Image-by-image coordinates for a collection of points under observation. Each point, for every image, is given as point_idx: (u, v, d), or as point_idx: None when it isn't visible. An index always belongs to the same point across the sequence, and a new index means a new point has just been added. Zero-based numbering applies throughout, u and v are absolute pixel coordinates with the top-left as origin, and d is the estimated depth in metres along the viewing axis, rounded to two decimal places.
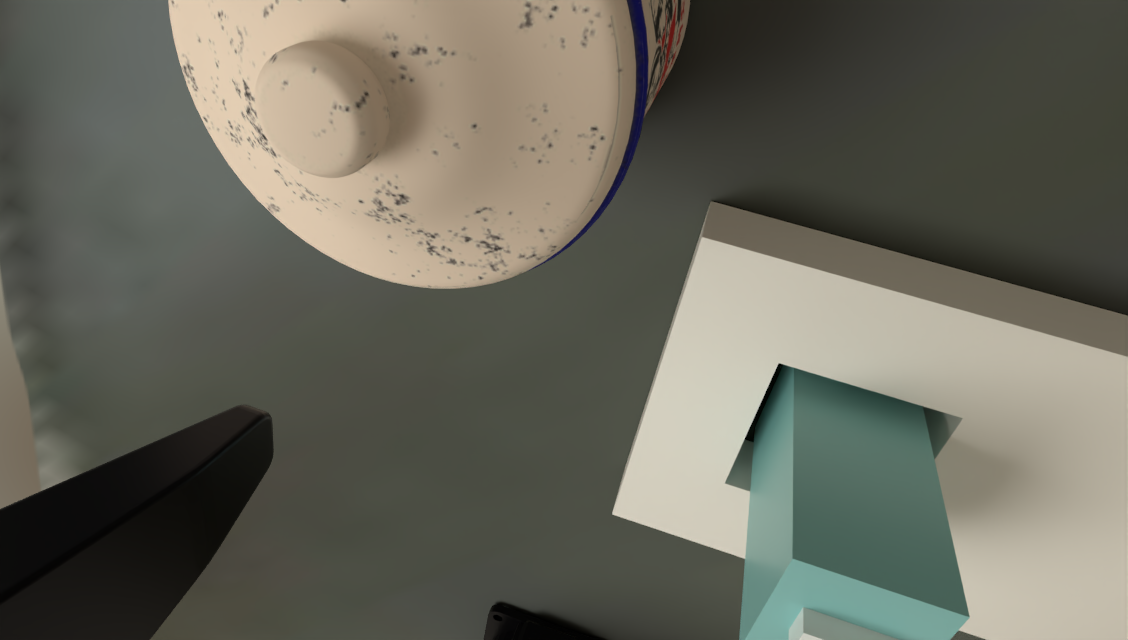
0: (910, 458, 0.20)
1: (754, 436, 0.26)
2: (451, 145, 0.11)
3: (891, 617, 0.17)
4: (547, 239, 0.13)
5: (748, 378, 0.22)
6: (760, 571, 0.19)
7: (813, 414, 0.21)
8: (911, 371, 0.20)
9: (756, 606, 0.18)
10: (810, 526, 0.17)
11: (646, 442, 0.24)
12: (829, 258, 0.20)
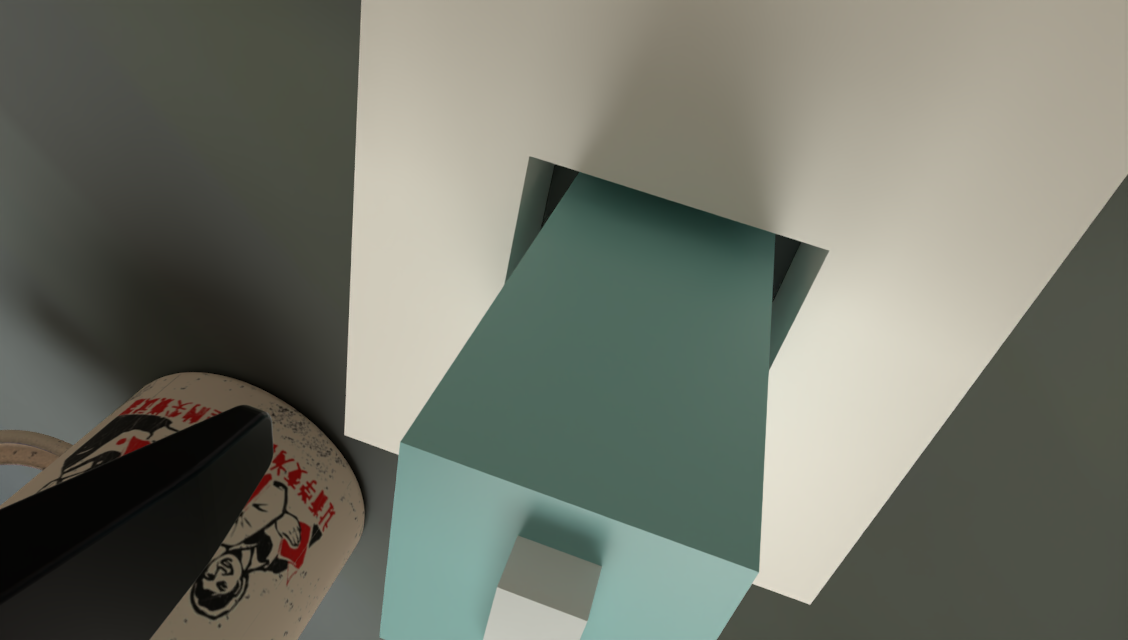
0: None
1: None
2: None
3: (457, 545, 0.08)
4: None
5: None
6: None
7: None
8: (461, 232, 0.14)
9: None
10: None
11: None
12: None
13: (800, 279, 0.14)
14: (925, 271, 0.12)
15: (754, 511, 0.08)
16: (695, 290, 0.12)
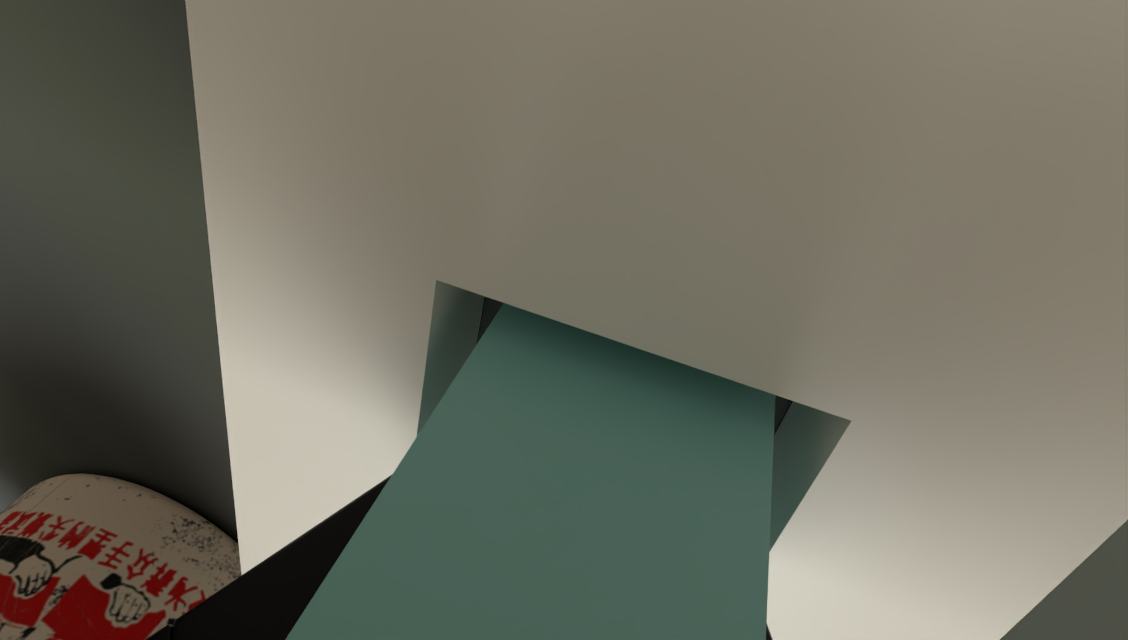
0: None
1: None
2: None
3: None
4: None
5: None
6: None
7: None
8: (356, 367, 0.10)
9: None
10: None
11: None
12: None
13: (809, 434, 0.10)
14: (989, 456, 0.08)
15: None
16: (661, 489, 0.08)
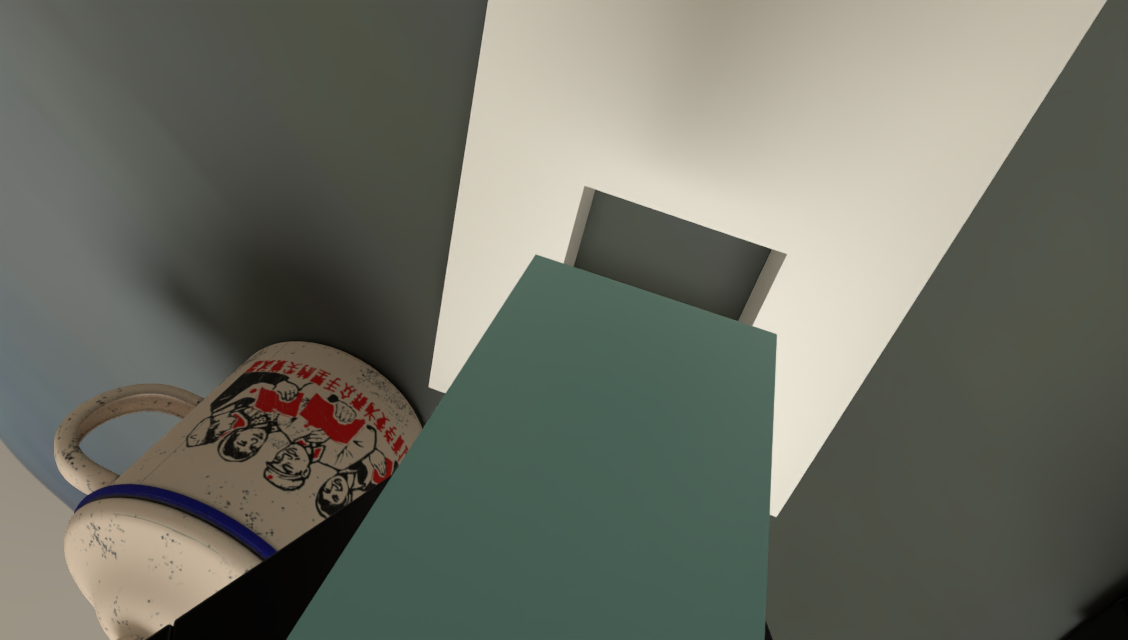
0: None
1: None
2: (157, 616, 0.20)
3: None
4: (237, 575, 0.20)
5: None
6: None
7: None
8: (532, 236, 0.20)
9: None
10: None
11: None
12: None
13: (769, 274, 0.19)
14: (850, 269, 0.18)
15: None
16: (660, 491, 0.08)
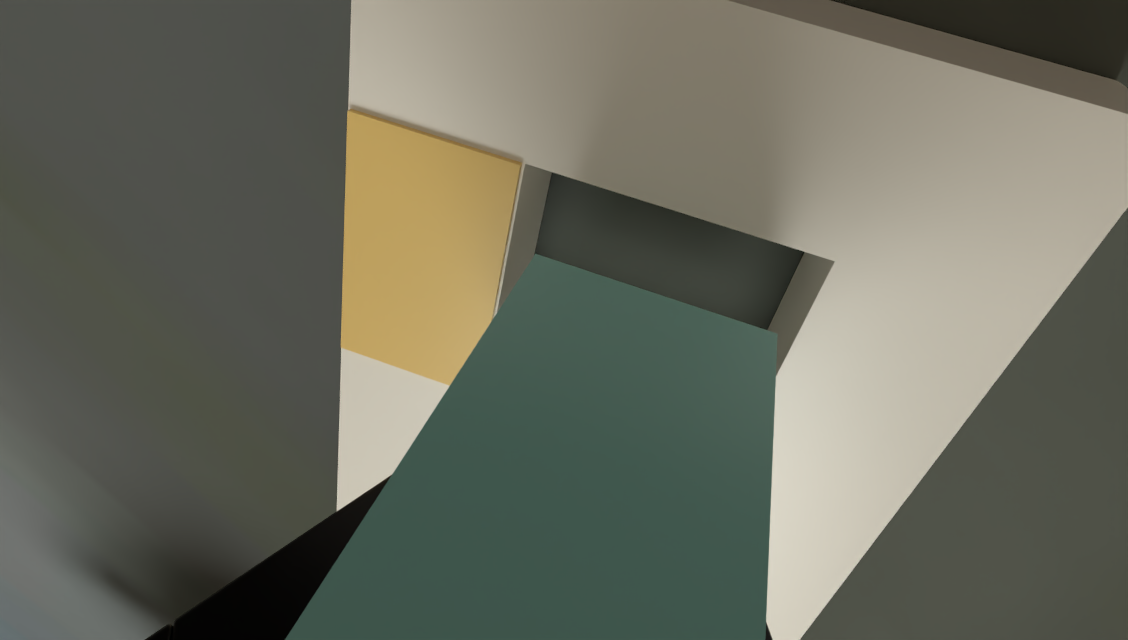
0: None
1: None
2: None
3: None
4: None
5: None
6: None
7: None
8: None
9: None
10: None
11: None
12: None
13: None
14: None
15: None
16: (660, 491, 0.08)
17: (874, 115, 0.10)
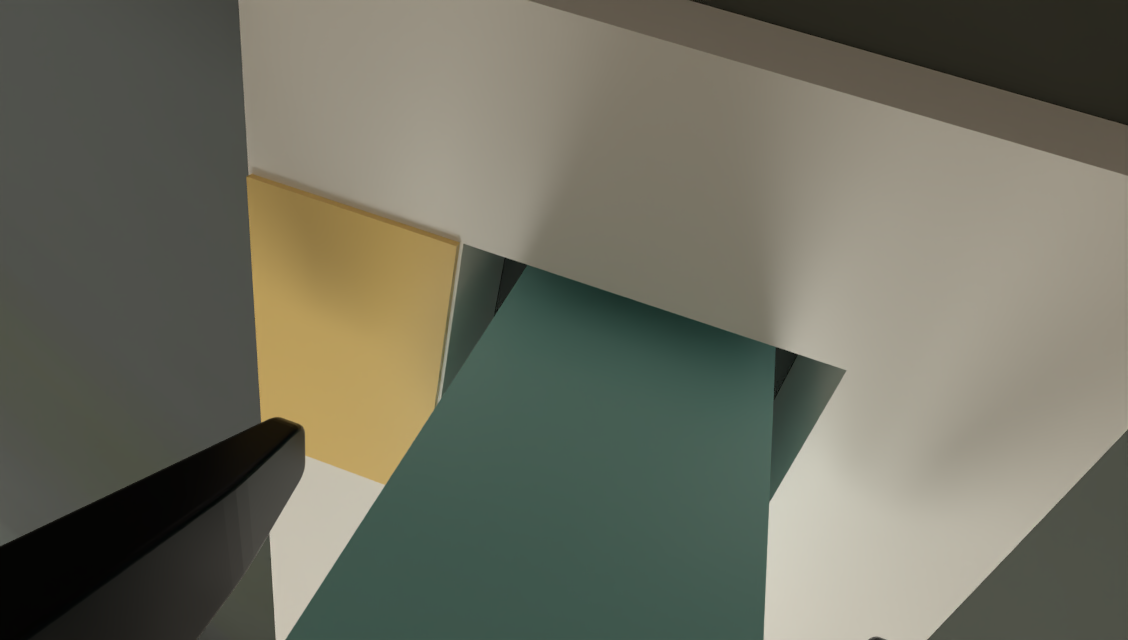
0: None
1: None
2: None
3: None
4: None
5: None
6: None
7: None
8: None
9: None
10: None
11: None
12: None
13: None
14: None
15: None
16: (671, 433, 0.09)
17: (899, 200, 0.08)
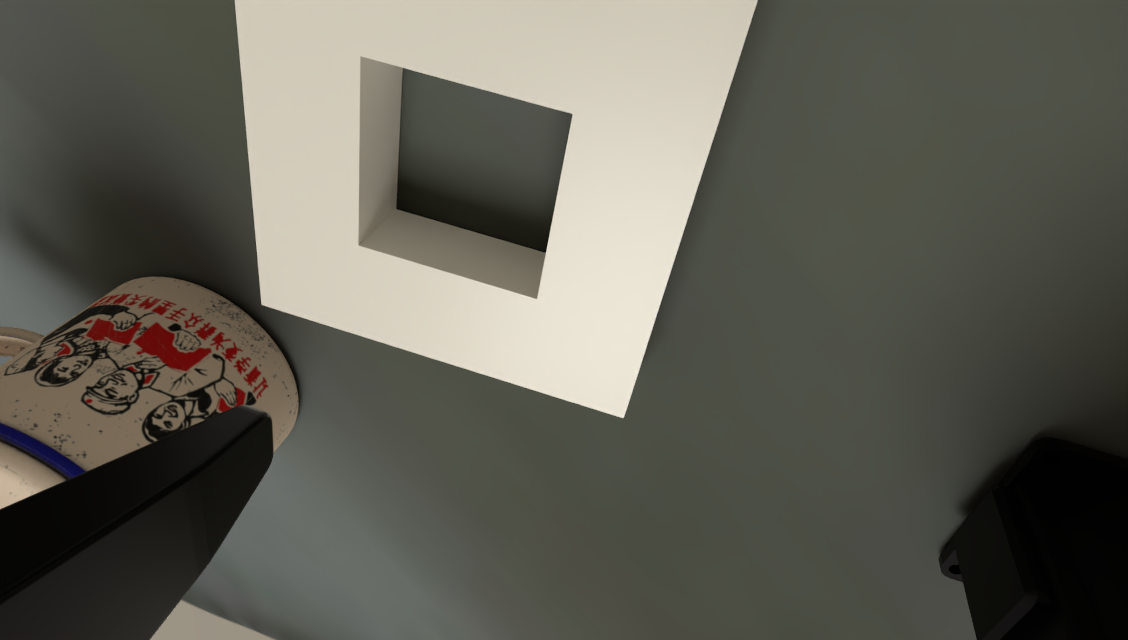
0: None
1: None
2: None
3: None
4: None
5: (385, 272, 0.21)
6: None
7: None
8: (322, 121, 0.19)
9: None
10: None
11: (499, 370, 0.22)
12: None
13: None
14: (638, 125, 0.17)
15: None
16: None
17: None
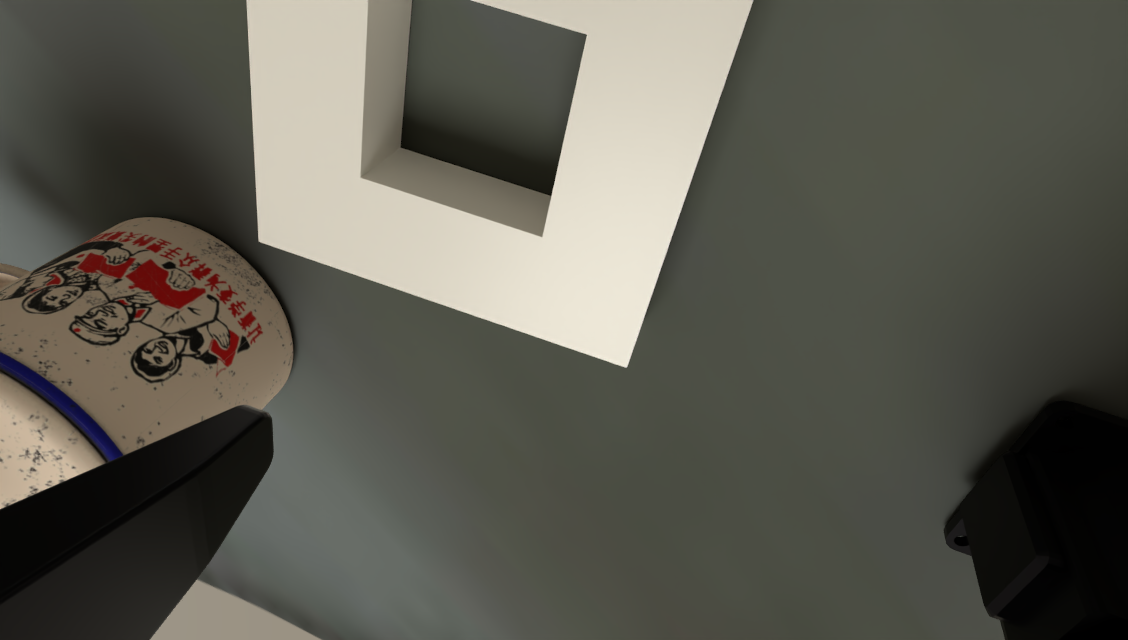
0: None
1: None
2: None
3: None
4: (22, 420, 0.19)
5: (387, 207, 0.20)
6: None
7: None
8: (328, 41, 0.18)
9: None
10: None
11: (501, 314, 0.21)
12: None
13: None
14: (654, 47, 0.16)
15: None
16: None
17: None
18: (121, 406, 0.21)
